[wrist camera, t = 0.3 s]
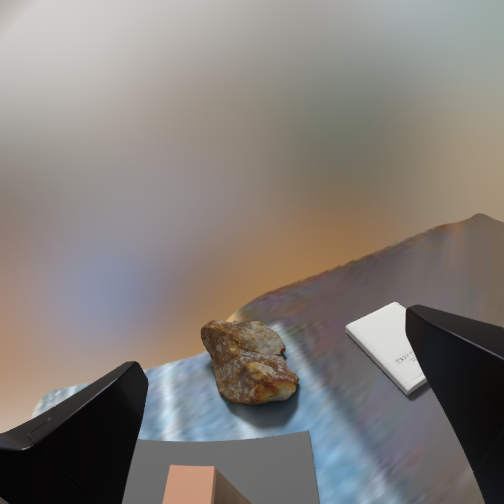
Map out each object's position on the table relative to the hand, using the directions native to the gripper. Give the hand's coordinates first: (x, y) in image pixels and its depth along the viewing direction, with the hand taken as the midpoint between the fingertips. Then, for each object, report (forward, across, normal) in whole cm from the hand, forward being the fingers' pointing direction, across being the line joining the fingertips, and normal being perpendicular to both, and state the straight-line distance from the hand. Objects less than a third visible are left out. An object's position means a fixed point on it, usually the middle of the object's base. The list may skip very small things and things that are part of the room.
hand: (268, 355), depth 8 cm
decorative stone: (+18, +5, +15) cm, 24 cm away
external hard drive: (+16, -12, +16) cm, 26 cm away
